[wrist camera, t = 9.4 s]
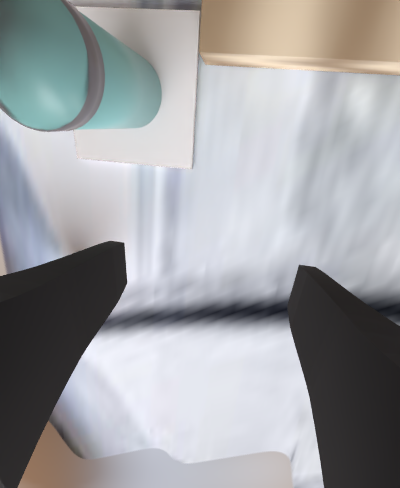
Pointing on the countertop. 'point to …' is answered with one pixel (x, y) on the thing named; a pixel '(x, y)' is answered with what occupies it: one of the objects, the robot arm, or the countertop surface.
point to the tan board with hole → (302, 34)
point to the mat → (172, 85)
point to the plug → (70, 71)
